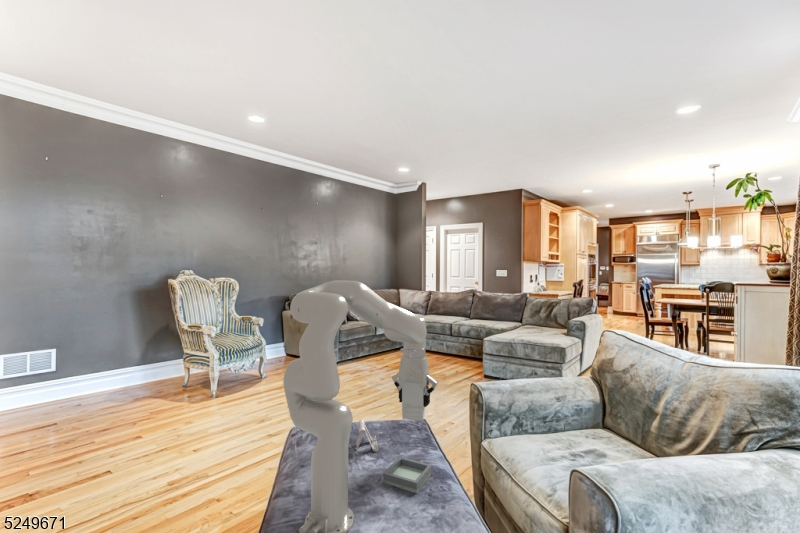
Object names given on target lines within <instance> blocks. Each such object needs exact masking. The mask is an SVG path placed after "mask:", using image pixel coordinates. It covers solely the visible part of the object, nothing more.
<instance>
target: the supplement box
mask: <svg viewBox="0 0 800 533" xmlns="http://www.w3.org/2000/svg"><path fill="white" fill-rule="evenodd" d="M424 395H425V393H424V388H423V389H421V388H420V383H416V382H411V381H402V402H401V411H402V413H401V414H402V416H401V418H402V420H410V421H411V420H413V421H424V418H425V416H426V407H424Z"/></svg>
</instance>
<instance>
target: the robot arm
mask: <svg viewBox="0 0 800 533" xmlns="http://www.w3.org/2000/svg"><path fill="white" fill-rule="evenodd" d="M289 307H290V310H289V311H290V314H291V316H292V318H293V319H294V320H296V321H297V322H299V323H302V324H308V325H307V326H306V328H305V330H304V331H303V334H302V335H301V337H300V340H299V345H298V349H299V350H298V351H299V353H298V354H299V357H298V358H296V359H293V360H292V361H291V362H290V363H288V365H287V366H286V369H285V371H284V375H283V382H282V384H283V390H284V394H285V400H286V403H287V407H288V412H289V416H290V419H291V421H292V423H293V425H294V426H295V427H296V428H297V429H299V430H301V431H303V432H306V433H309V434H310V435H312V436H315V437H316V438H317V441H316V444H315V445H314V447H313V449H312V451H311V452H312V453H311V458H310V462H311V463H310V464H311V465H310V466H311V467H310V468H311V469H310V474H311V475H310V478H311V480H310V511H309V512H308V513H307V515H306V516H305V520H304V524H303V525H301V526H300V527H299V528H298V533H347V532H349V530H351V529H352V527H353V526H354V522H355V514H354V512H353V510H352V509H351V507H349V446H350V437H351V432H352V428H353V417H354V416H353V412H352V410H351V409H350V408H349V406H348V405H346V404H345V403H343V402H341V401H338V400H336V399H335V398H336V397H337V395H338V394H339V392H340V386H341V385H340V384H341V380H340V375H339V371H338V369H339V368H338V364H337V359H336V354H335V353H336V352H335V347H334V346H335V345H334V344H335V338H336V336H337V333H338V331H339V329H340V327H341V325H342V324H343V323H344V322H345V320H346V318H347V316H348V312H350V313H352V314H354V315H355V316H357V317H358V318H360V319H361V320H363V321H364V322H365V323H368V325H370V326H373V327H375V328H379V329H382V330H383V333H384V336H385V337H386V338H387V339H388V340H390V341H392V342H397V343H398V342H400V343H403V347H402V348H400V350H399V352H400V353H402V356H400V357H401V358H400V362H399V369H398V373H396V374H394V375H392V376H391V379H392V381H393V382H394V383H393V384H394V386H395V387H396V390H397V391H398V399H399V400H398V402H399V403H402V381H411V382H416V383H420V388H421V389H423V388H424V393H425V395H424V407H425V408H426V407H428V406H429V405H430V403H431V394H432V392H434V391H435V390H436V387H437V386H439V383H438V382H437V380H436V379H434V378H432V376H430V368H429V361H428V357H427V356H426V339H427V334H428V332H427V331H428V330H427V327H426V324H427V323H426V319H425V318H424V317H420V316H418V315H416V314H415V313H413V312H411V311H409V310H407V309H405V308H403V307H400V306H398V305H396V304H393V303H391V302H389V301H387V300H385V299H384V298H383V297H381V296H380V295H379V294H377V293H376V292H375V291H374V290H373V289H371V288H370V287H369V286H368V285H366V284H365V283H363V282H360V281H357V280H341V279H340V280H339V279H338V280H331V281H327V282H325V283H321V284H319V285H316V286H313V287H310V288H307V289H305V290H302V291H300V292H298V293H297V294H296V295H295V296H294V297H293V298H292V300H291V302H290V306H289ZM430 384H431V385H430ZM429 385H430V386H431V387H430V386H429Z"/></svg>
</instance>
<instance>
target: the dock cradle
mask: <svg viewBox="0 0 800 533" xmlns="http://www.w3.org/2000/svg"><path fill="white" fill-rule="evenodd" d="M432 473H433V465H432V464H428V463H425V462H421V461H418V460H414V459H410V458H406V457H402V456H399V457H398V458H397V459H396V460H395V461H394V462H393V463H391V464H390V466H388V468H387V469H385V471H384V472H382V483H383V484H385V485H388V486H392V487H396V488H399V489H402V490H405V491H407V492H412V493H414V494H418V493H419V491H420V490H421V489H422V488H423V486H424V485H425V484H426V482H427V481H428V480H429V479H430V477H431V476H432Z"/></svg>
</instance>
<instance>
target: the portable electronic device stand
mask: <svg viewBox="0 0 800 533" xmlns="http://www.w3.org/2000/svg"><path fill="white" fill-rule="evenodd" d="M358 430H359V432H358V433H359V436H358V438H357V440H356V442H355V447H356V448H355V451H358V448H359V446H360V444H361V441H362V439H363V436H366V438H367V440H368V442H369V444H370V446H371V449H372V451H373V452H378V450H379V446H378V442H377V435H374V437H372V436H371V434H370V432H369V430H368V428H367V426H366V423H365V421H364V420H363V419H359V420H358Z"/></svg>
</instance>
